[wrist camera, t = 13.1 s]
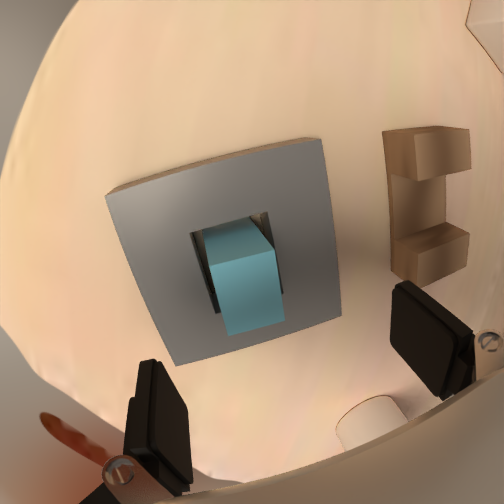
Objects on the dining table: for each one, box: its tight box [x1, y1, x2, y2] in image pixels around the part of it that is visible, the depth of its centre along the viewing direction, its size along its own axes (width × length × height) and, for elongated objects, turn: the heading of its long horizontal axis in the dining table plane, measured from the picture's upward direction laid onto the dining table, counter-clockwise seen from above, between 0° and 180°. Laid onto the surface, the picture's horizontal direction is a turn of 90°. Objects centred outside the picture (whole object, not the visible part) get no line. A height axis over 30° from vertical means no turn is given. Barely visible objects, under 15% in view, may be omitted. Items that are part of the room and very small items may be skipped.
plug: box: [202, 216, 285, 336], centre depth 17 cm, size 3×4×6 cm
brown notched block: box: [382, 126, 471, 288], centre depth 20 cm, size 6×11×4 cm, turn 12°
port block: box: [105, 138, 342, 366], centre depth 19 cm, size 12×12×2 cm
